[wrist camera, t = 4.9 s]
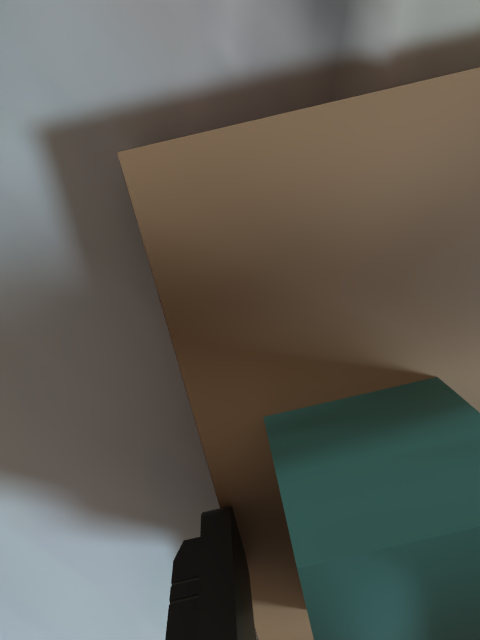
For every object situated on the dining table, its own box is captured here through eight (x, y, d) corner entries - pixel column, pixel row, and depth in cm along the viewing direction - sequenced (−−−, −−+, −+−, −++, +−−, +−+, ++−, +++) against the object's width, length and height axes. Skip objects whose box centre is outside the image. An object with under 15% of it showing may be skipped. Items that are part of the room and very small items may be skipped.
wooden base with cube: (131, 156, 9) (27, 120, 4) (449, 83, 9) (762, -53, 4) (285, 704, 15) (326, 991, 9) (485, 659, 15) (636, 921, 9)
